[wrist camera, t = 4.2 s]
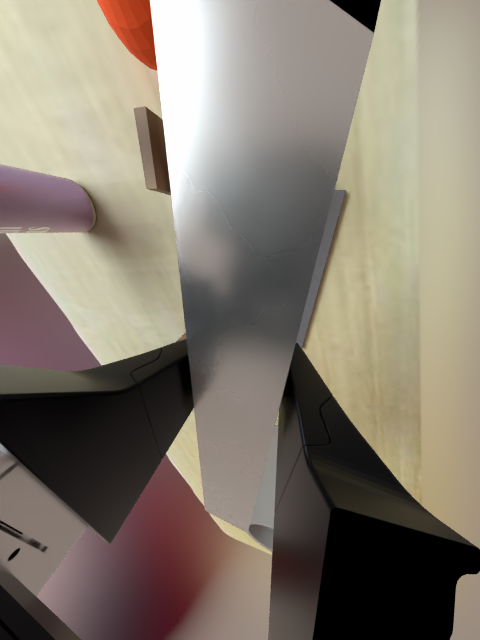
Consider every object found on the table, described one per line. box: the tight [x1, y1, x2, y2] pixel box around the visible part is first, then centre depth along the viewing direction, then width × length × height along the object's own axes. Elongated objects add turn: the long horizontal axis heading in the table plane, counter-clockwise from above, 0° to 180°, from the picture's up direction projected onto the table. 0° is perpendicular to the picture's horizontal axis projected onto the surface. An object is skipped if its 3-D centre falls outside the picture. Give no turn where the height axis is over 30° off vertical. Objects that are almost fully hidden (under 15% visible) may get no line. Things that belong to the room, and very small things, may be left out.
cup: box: [247, 425, 278, 551], centre depth 26 cm, size 9×9×12 cm
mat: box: [296, 190, 346, 348], centre depth 19 cm, size 16×7×1 cm, turn 177°
